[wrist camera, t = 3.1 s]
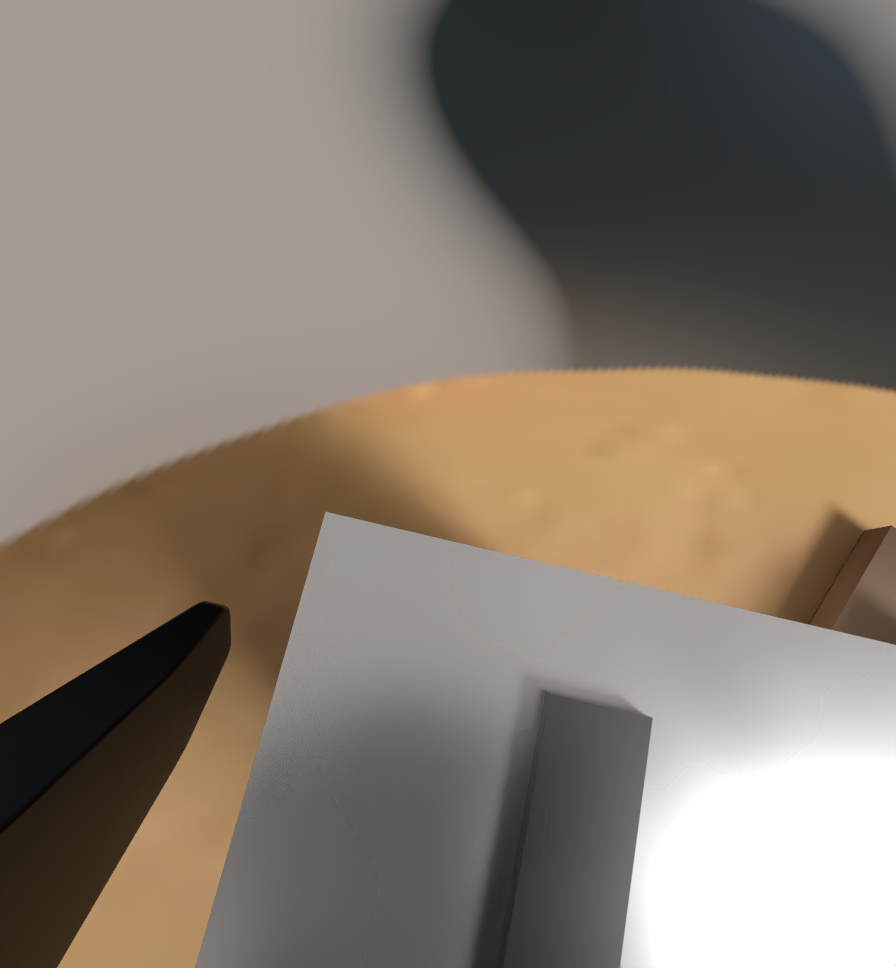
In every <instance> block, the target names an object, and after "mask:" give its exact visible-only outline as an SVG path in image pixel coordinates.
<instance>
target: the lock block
mask: <svg viewBox="0 0 896 968" xmlns="http://www.w3.org/2000/svg"><path fill="white" fill-rule="evenodd" d="M895 951H896V645H894V644H890V643H885V642H881V641H877V640H873V639H868V638H864V637H860V636H855V635H851V634H847V633H843V632H838V631H834V630H830V629H825V628H821V627H817V626H813V625H808V624H804V623H800V622H796V621H791V620H787V619H783V618H778V617H774V616H770V615H766V614H761V613H757V612H753V611H748V610H744V609H740V608H736V607H731V606H727V605H723V604H719V603H714V602H710V601H706V600H701V599H697V598H693V597H689V596H684V595H680V594H676V593H671V592H667V591H663V590H659V589H654V588H650V587H646V586H642V585H637V584H633V583H629V582H624V581H620V580H616V579H612V578H607V577H603V576H599V575H594V574H590V573H586V572H582V571H577V570H573V569H569V568H565V567H560V566H556V565H552V564H547V563H543V562H539V561H535V560H530V559H526V558H522V557H518V556H513V555H509V554H505V553H500V552H496V551H492V550H488V549H483V548H479V547H475V546H470V545H466V544H462V543H458V542H453V541H449V540H445V539H441V538H436V537H432V536H428V535H423V534H419V533H415V532H411V531H406V530H402V529H398V528H393V527H389V526H385V525H381V524H376V523H372V522H368V521H364V520H359V519H355V518H351V517H346V516H342V515H338V514H334V513H329V512H325V515H324V519H323V522H322V526H321V529H320V533H319V536H318V540H317V543H316V547H315V550H314V554H313V557H312V561H311V564H310V568H309V571H308V575H307V578H306V582H305V585H304V589H303V592H302V596H301V599H300V603H299V606H298V610H297V613H296V617H295V620H294V624H293V627H292V631H291V634H290V638H289V641H288V645H287V648H286V652H285V655H284V659H283V662H282V666H281V669H280V673H279V676H278V680H277V683H276V687H275V690H274V694H273V697H272V701H271V704H270V708H269V711H268V715H267V718H266V722H265V725H264V728H263V732H262V735H261V739H260V742H259V746H258V749H257V753H256V756H255V760H254V763H253V767H252V770H251V774H250V777H249V781H248V784H247V788H246V791H245V795H244V798H243V802H242V805H241V809H240V812H239V816H238V819H237V823H236V826H235V830H234V833H233V837H232V840H231V844H230V847H229V851H228V854H227V858H226V861H225V865H224V868H223V872H222V875H221V879H220V882H219V886H218V889H217V893H216V896H215V900H214V903H213V907H212V910H211V914H210V917H209V921H208V924H207V928H206V931H205V935H204V938H203V942H202V945H201V949H200V952H199V956H198V959H197V963H196V966H195V968H895Z"/></svg>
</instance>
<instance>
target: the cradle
mask: <svg viewBox="0 0 896 968" xmlns="http://www.w3.org/2000/svg"><path fill="white" fill-rule="evenodd" d="M809 625H813V626H817V627H821V628H825V629H830V630H834V631H838V632H843V633H847V634H851V635H855V636H860V637H864V638H868V639H873V640H877V641H881V642H885V643H890V644H894V645H896V528H894V527H893V526H887V527H881V528H876V529H871V530H865V531H864V533H863V534H862V536H861V538H860V539H859V541H858V543H857V544H856V546H855V548H854V550H853V551H852V553H851V555H850V556H849V558H848V560H847V561H846V563H845V565H844V566H843V568H842V570H841V571H840V573H839V575H838V577H837V578H836V580H835V582H834V583H833V585H832V587H831V588H830V590H829V592H828V593H827V595H826V597H825V599H824V600H823V602H822V604H821V605H820V607H819V609H818V610H817V612H816V614H815V615H814V617H813V619H812V621H811V622H810V624H809Z"/></svg>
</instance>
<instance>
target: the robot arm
mask: <svg viewBox="0 0 896 968" xmlns="http://www.w3.org/2000/svg"><path fill="white" fill-rule="evenodd" d="M230 646H231V625H230V610H229V608H228V607H227V606H225V605H220V604H216V603H212V602H207V601H203V602H200V603H198V604H196V605H194V606H193V607H191V608H189V609H188V610H186V611H184V612H183V613H181V614H179V615H178V616H176V617H175V618H173V619H171V620H170V621H168V622H166V623H165V624H163V625H161V626H160V627H158V628H157V629H155V630H153V631H152V632H150V633H148V634H147V635H145V636H143V637H142V638H140V639H138V640H137V641H135V642H134V643H132V644H130V645H129V646H127V647H125V648H124V649H122V650H120V651H119V652H117V653H116V654H114V655H112V656H111V657H109V658H107V659H106V660H104V661H102V662H101V663H99V664H98V665H96V666H94V667H93V668H91V669H89V670H88V671H86V672H84V673H83V674H81V675H79V676H78V677H76V678H75V679H73V680H71V681H70V682H68V683H66V684H65V685H63V686H61V687H60V688H58V689H57V690H55V691H53V692H52V693H50V694H48V695H47V696H45V697H43V698H42V699H40V700H39V701H37V702H35V703H34V704H32V705H30V706H29V707H27V708H25V709H24V710H22V711H20V712H19V713H17V714H16V715H14V716H12V717H11V718H9V719H7V720H6V721H4V722H2V723H1V724H0V968H57V967H58V965H59V963H60V962H61V960H62V958H63V956H64V955H65V953H66V951H67V950H68V948H69V946H70V945H71V943H72V941H73V939H74V938H75V936H76V934H77V933H78V931H79V929H80V928H81V926H82V924H83V922H84V921H85V919H86V917H87V916H88V914H89V912H90V911H91V909H92V907H93V905H94V904H95V902H96V900H97V899H98V897H99V895H100V894H101V892H102V890H103V888H104V887H105V885H106V883H107V882H108V880H109V878H110V876H111V875H112V873H113V871H114V870H115V868H116V866H117V865H118V863H119V861H120V859H121V858H122V856H123V854H124V853H125V851H126V849H127V848H128V846H129V844H130V842H131V841H132V839H133V837H134V836H135V834H136V832H137V831H138V829H139V827H140V825H141V824H142V822H143V820H144V819H145V817H146V815H147V814H148V812H149V810H150V808H151V807H152V805H153V803H154V802H155V800H156V798H157V796H158V795H159V793H160V791H161V790H162V788H163V786H164V785H165V783H166V781H167V779H168V778H169V776H170V774H171V773H172V771H173V769H174V768H175V766H176V764H177V762H178V761H179V759H180V757H181V755H182V753H183V751H184V750H185V748H186V746H187V744H188V741H189V739H190V737H191V735H192V733H193V731H194V729H195V727H196V724H197V722H198V720H199V718H200V716H201V713H202V711H203V709H204V707H205V705H206V702H207V700H208V698H209V696H210V694H211V691H212V689H213V687H214V685H215V683H216V680H217V678H218V676H219V674H220V672H221V669H222V667H223V665H224V663H225V661H226V658H227V656H228V653H229V650H230ZM895 968H896V951H895Z"/></svg>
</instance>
